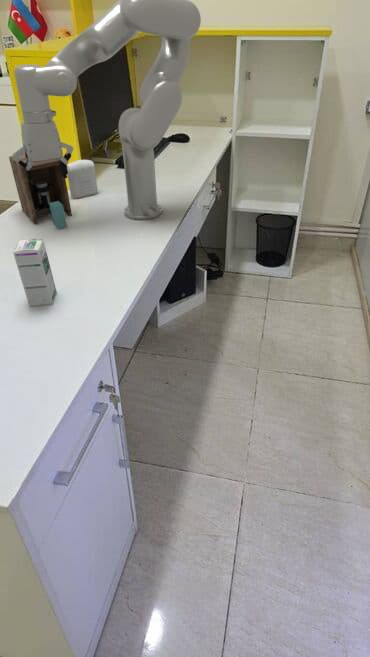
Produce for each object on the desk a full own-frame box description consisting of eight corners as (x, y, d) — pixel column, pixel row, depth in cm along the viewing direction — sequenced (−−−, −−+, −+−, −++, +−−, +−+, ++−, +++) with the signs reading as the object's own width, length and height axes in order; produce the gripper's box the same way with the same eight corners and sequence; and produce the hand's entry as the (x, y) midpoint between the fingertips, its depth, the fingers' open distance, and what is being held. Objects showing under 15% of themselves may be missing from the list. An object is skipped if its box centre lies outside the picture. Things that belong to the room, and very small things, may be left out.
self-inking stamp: (33, 214, 150) (25, 185, 144) (40, 208, 155) (33, 179, 149) (51, 215, 149) (45, 185, 143) (58, 209, 154) (52, 180, 148)
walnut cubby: (72, 215, 149) (61, 160, 138) (34, 224, 144) (21, 167, 133) (58, 202, 158) (47, 150, 148) (22, 210, 153) (8, 156, 142)
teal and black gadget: (77, 223, 142) (73, 202, 138) (47, 231, 138) (42, 209, 134) (55, 203, 156) (51, 183, 152) (27, 210, 152) (22, 189, 148)
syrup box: (53, 304, 106) (39, 249, 97) (28, 306, 106) (12, 251, 97) (56, 291, 111) (44, 238, 102) (32, 293, 110) (18, 239, 102)
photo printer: (95, 190, 168) (90, 156, 160) (100, 193, 165) (95, 159, 157) (69, 196, 163) (62, 161, 156) (73, 200, 160) (67, 164, 153)
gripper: (63, 111, 129) (72, 171, 139) (1, 118, 121) (15, 181, 131) (72, 116, 124) (81, 178, 134) (8, 123, 116) (23, 188, 126)
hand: (48, 179), depth 133 cm, fingers open, 9 cm apart
